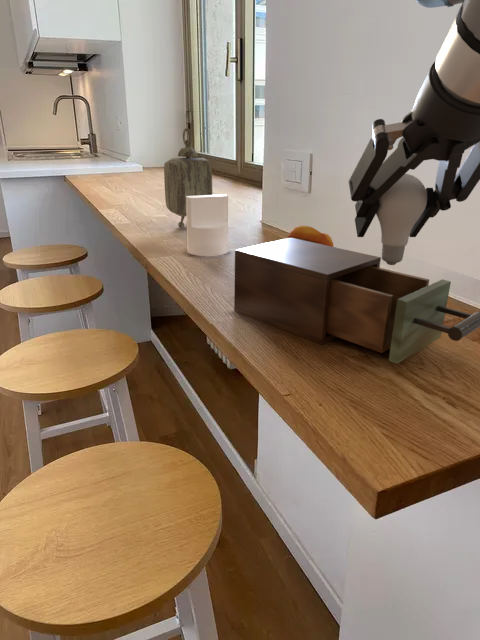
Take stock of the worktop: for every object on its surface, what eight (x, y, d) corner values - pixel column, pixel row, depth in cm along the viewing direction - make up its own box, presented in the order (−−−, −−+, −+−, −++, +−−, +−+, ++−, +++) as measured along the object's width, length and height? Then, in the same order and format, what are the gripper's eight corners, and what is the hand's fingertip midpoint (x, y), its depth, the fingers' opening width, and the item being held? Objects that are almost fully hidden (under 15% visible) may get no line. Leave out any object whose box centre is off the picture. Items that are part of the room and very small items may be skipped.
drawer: (485, 351, 62) (499, 292, 59) (445, 382, 54) (458, 316, 51) (342, 306, 76) (347, 257, 73) (295, 326, 68) (298, 272, 65)
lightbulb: (403, 274, 58) (417, 177, 54) (356, 264, 62) (366, 173, 57) (425, 265, 62) (439, 174, 58) (380, 256, 66) (391, 170, 62)
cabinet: (373, 320, 73) (381, 257, 69) (321, 344, 65) (327, 274, 61) (287, 293, 84) (290, 237, 80) (234, 311, 76) (234, 249, 72)
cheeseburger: (265, 274, 93) (273, 221, 91) (291, 275, 102) (299, 226, 100) (314, 283, 88) (323, 227, 86) (337, 283, 97) (346, 232, 95)
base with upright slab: (218, 244, 115) (218, 192, 111) (234, 253, 108) (235, 197, 103) (181, 248, 112) (180, 194, 107) (195, 257, 104) (194, 200, 100)
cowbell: (212, 231, 129) (211, 128, 119) (178, 234, 126) (175, 128, 116) (196, 221, 141) (194, 127, 132) (165, 223, 138) (161, 127, 129)
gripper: (567, 49, 45) (450, 204, 66) (360, 42, 43) (308, 203, 64) (594, 112, 42) (462, 253, 63) (372, 107, 40) (314, 253, 61)
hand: (385, 228), depth 64 cm, fingers closed on lightbulb, 6 cm apart
